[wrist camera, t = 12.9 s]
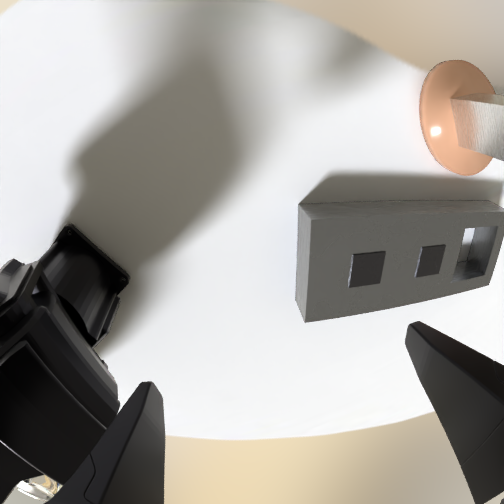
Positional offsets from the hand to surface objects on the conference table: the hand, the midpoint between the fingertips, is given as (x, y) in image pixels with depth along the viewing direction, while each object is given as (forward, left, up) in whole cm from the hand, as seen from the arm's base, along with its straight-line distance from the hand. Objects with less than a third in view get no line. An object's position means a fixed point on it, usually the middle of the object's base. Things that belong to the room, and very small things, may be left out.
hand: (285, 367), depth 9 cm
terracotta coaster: (+5, +20, -13) cm, 24 cm away
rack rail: (+11, +9, -13) cm, 19 cm away
